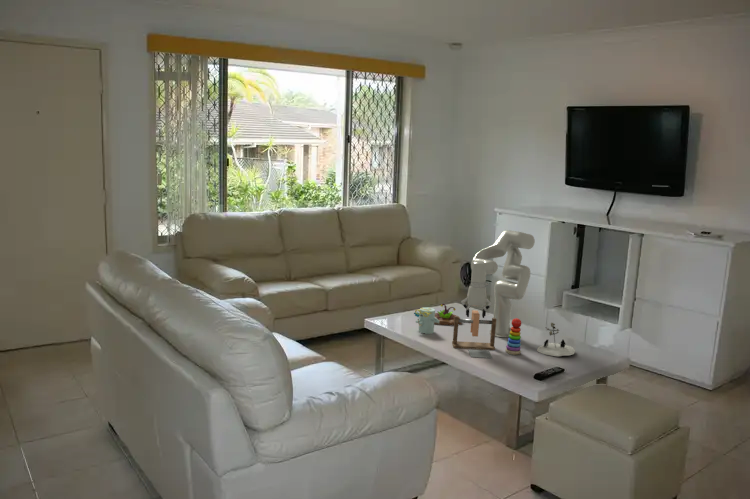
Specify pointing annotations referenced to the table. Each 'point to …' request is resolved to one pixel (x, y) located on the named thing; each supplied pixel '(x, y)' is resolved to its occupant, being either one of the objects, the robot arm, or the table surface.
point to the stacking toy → (514, 338)
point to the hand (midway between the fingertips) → (475, 316)
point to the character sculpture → (426, 320)
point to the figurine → (555, 346)
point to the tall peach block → (475, 323)
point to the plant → (445, 317)
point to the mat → (480, 353)
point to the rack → (474, 344)
